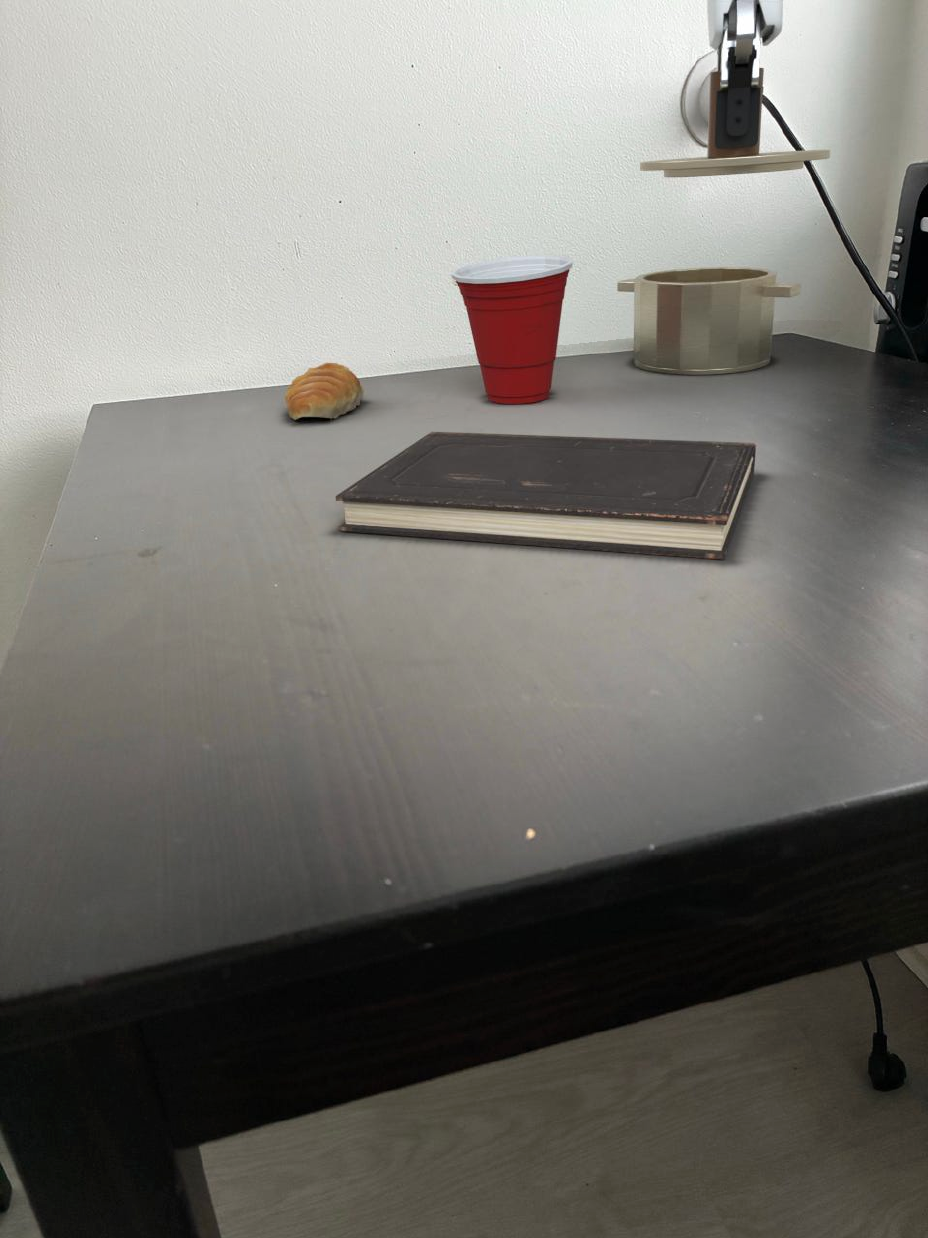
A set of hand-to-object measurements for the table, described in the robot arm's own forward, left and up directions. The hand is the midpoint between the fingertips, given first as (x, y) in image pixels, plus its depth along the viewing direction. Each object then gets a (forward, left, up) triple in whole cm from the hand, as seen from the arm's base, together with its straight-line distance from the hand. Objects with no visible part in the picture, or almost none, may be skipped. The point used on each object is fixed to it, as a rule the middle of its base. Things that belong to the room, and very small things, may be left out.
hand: (733, 144), depth 79 cm
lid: (0, 0, -1) cm, 1 cm away
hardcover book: (+31, +4, -20) cm, 37 cm away
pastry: (+20, -30, -20) cm, 41 cm away
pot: (-14, -10, -20) cm, 26 cm away
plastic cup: (+8, -17, -20) cm, 27 cm away
